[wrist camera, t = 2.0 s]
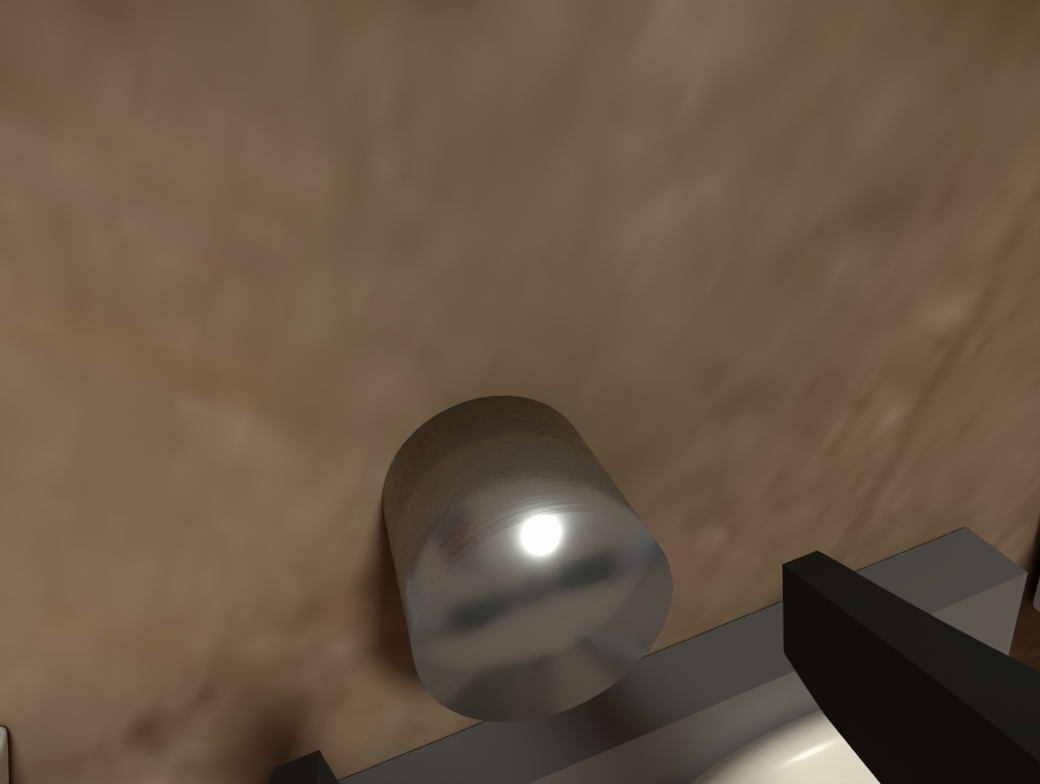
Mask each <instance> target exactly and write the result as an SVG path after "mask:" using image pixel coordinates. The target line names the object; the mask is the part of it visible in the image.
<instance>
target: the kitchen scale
mask: <svg viewBox="0 0 1040 784" xmlns="http://www.w3.org/2000/svg"><path fill="white" fill-rule="evenodd" d="M856 573H858V574H860V575H862V576H863V577H865V578H867V579H869V580H870V581H872V582H874V583H876V584H877V585H879V586H881V587H883V588H884V589H886V590H888V591H890V592H891V593H893V594H895V595H897V596H898V597H900V598H902V599H904V600H906V601H907V602H909V603H911V604H913V605H914V606H916V607H918V608H920V609H922V610H923V611H925V612H927V613H929V614H931V615H932V616H934V617H936V618H938V619H940V620H942V621H943V622H945V623H947V624H949V625H951V626H953V627H955V628H957V629H959V630H960V631H962V632H964V633H966V634H968V635H970V636H972V637H974V638H975V639H977V640H979V641H981V642H983V643H985V644H987V645H989V646H990V647H992V648H994V649H996V650H998V651H1000V652H1002V653H1004V654H1006V655H1008V656H1009V651H1010V647H1011V643H1012V639H1013V634H1014V630H1015V626H1016V621H1017V617H1018V613H1019V609H1020V604H1021V600H1022V596H1023V591H1024V587H1025V583H1026V579H1027V574H1028V572H1026V571H1025V570H1023V569H1022V568H1021V567H1019V566H1018V565H1017V564H1015V563H1014V562H1013V561H1011V560H1010V559H1009V558H1007V557H1006V556H1005V555H1003V554H1002V553H1001V552H999V551H998V550H997V549H995V548H994V547H992V546H991V545H990V544H988V543H987V542H986V541H984V540H983V539H982V538H980V537H979V536H978V535H976V534H975V533H974V532H972V531H971V530H970V529H968V528H967V527H965V528H963V529H960V530H958V531H955V532H953V533H950V534H948V535H945V536H943V537H940V538H938V539H935V540H933V541H931V542H928V543H926V544H923V545H921V546H918V547H916V548H913V549H911V550H908V551H906V552H903V553H901V554H898V555H896V556H893V557H891V558H889V559H886V560H884V561H881V562H879V563H876V564H874V565H871V566H869V567H866V568H864V569H861V570H859V571H856ZM338 783H339V784H880V783H879V781H878V780H877V779H876V778H875V777H874V775H873V774H872V773H871V772H870V771H869V769H868V768H867V767H866V766H865V764H864V763H863V762H862V761H861V760H860V758H859V757H858V756H857V755H856V753H855V752H854V751H853V750H852V748H851V747H850V746H849V745H848V744H847V742H846V741H845V740H844V739H843V737H842V736H841V735H840V734H839V732H838V731H837V730H836V729H835V728H834V726H833V725H832V724H831V722H830V721H829V720H828V719H827V717H826V716H825V715H824V714H823V712H822V711H821V709H820V708H819V706H818V705H817V703H816V702H815V700H814V699H813V697H812V696H811V694H810V693H809V691H808V690H807V688H806V687H805V685H804V684H803V682H802V681H801V679H800V677H799V676H798V674H797V673H796V671H795V670H794V668H793V666H792V665H791V663H790V662H789V660H788V658H787V657H786V655H785V654H784V648H783V601H782V602H780V603H777V604H775V605H772V606H770V607H767V608H765V609H762V610H760V611H758V612H755V613H753V614H750V615H748V616H745V617H743V618H740V619H738V620H735V621H733V622H730V623H728V624H725V625H723V626H720V627H718V628H716V629H713V630H711V631H708V632H706V633H703V634H701V635H698V636H696V637H693V638H691V639H688V640H686V641H683V642H681V643H678V644H676V645H674V646H671V647H669V648H666V649H664V650H661V651H659V652H656V653H654V654H651V655H649V656H646V657H644V658H642V659H641V660H640V661H639V662H638V663H637V664H636V665H635V666H634V667H633V668H632V669H631V670H630V671H629V672H628V673H627V674H626V675H625V676H623V677H622V678H621V679H620V680H618V681H617V682H616V683H615V684H613V685H612V686H611V687H609V688H608V689H606V690H605V691H603V692H602V693H600V694H598V695H597V696H595V697H593V698H591V699H589V700H588V701H586V702H584V703H582V704H579V705H577V706H575V707H573V708H571V709H568V710H565V711H562V712H560V713H557V714H554V715H550V716H546V717H543V718H538V719H533V720H527V721H517V722H491V721H486V722H483V723H481V724H478V725H476V726H473V727H471V728H468V729H466V730H463V731H461V732H459V733H456V734H454V735H451V736H449V737H446V738H444V739H441V740H439V741H436V742H434V743H431V744H429V745H426V746H424V747H421V748H419V749H417V750H414V751H412V752H409V753H407V754H404V755H402V756H399V757H397V758H394V759H392V760H389V761H387V762H384V763H382V764H379V765H377V766H374V767H372V768H370V769H367V770H365V771H362V772H360V773H357V774H355V775H352V776H350V777H347V778H345V779H342V780H340V781H338Z"/></svg>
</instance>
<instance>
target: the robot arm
mask: <svg viewBox="0 0 1040 784" xmlns="http://www.w3.org/2000/svg"><path fill="white" fill-rule="evenodd" d="M782 568H783V648H784V654H785V655H786V657H787V658H788V660H789V662H790V663H791V665H792V666H793V668H794V670H795V671H796V673H797V674H798V676H799V677H800V679H801V681H802V682H803V684H804V685H805V687H806V688H807V690H808V691H809V693H810V694H811V696H812V697H813V699H814V700H815V702H816V703H817V705H818V706H819V708H820V709H821V711H822V712H823V714H824V715H825V716H826V717H827V719H828V720H829V721H830V722H831V724H832V725H833V726H834V728H835V729H836V730H837V731H838V732H839V734H840V735H841V736H842V737H843V739H844V740H845V741H846V742H847V744H848V745H849V746H850V747H851V748H852V750H853V751H854V752H855V753H856V755H857V756H858V757H859V758H860V760H861V761H862V762H863V763H864V764H865V766H866V767H867V768H868V769H869V771H870V772H871V773H872V774H873V775H874V777H875V778H876V779H877V780H878V781H879V783H880V784H1040V671H1039V670H1037V669H1034V668H1032V667H1030V666H1028V665H1026V664H1024V663H1022V662H1020V661H1018V660H1016V659H1014V658H1012V657H1010V656H1008V655H1006V654H1004V653H1002V652H1000V651H998V650H996V649H994V648H992V647H990V646H989V645H987V644H985V643H983V642H981V641H979V640H977V639H975V638H974V637H972V636H970V635H968V634H966V633H964V632H962V631H960V630H959V629H957V628H955V627H953V626H951V625H949V624H947V623H945V622H943V621H942V620H940V619H938V618H936V617H934V616H932V615H931V614H929V613H927V612H925V611H923V610H922V609H920V608H918V607H916V606H914V605H913V604H911V603H909V602H907V601H906V600H904V599H902V598H900V597H898V596H897V595H895V594H893V593H891V592H890V591H888V590H886V589H884V588H883V587H881V586H879V585H877V584H876V583H874V582H872V581H870V580H869V579H867V578H865V577H863V576H862V575H860V574H858V573H856V572H855V571H853V570H851V569H849V568H848V567H846V566H844V565H843V564H841V563H839V562H837V561H836V560H834V559H832V558H830V557H828V556H827V555H825V554H823V553H821V552H819V551H818V550H817V551H815V552H812V553H810V554H807V555H805V556H802V557H800V558H797V559H795V560H792V561H790V562H787V563H785V564H782ZM1033 607H1034V608H1035V609H1036V610H1038V611H1039V612H1040V576H1039V580H1038V584H1037V588H1036V593H1035V597H1034V601H1033ZM269 784H339V783H338V781H337V779H336V778H335V776H334V774H333V773H332V771H331V769H330V767H329V766H328V764H327V762H326V761H325V759H324V757H323V756H322V754H321V752H320V750H318V751H316V752H313V753H311V754H308V755H306V756H303V757H301V758H298V759H296V760H293V761H291V762H288V763H286V764H283V765H281V766H278V767H276V768H275V769H274V771H273V772H272V774H271V776H270V779H269Z"/></svg>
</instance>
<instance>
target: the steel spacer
mask: <svg viewBox="0 0 1040 784" xmlns="http://www.w3.org/2000/svg"><path fill="white" fill-rule="evenodd" d="M382 504H383V512H384V518H385V523H386V528H387V533H388V538H389V543H390V547H391V552H392V557H393V562H394V567H395V572H396V577H397V581H398V586H399V591H400V596H401V601H402V606H403V611H404V615H405V620H406V625H407V630H408V635H409V640H410V644H411V649H412V654H413V659H414V664H415V667H416V670H417V673H418V676H419V678H420V680H421V682H422V684H423V685H424V687H425V688H426V690H427V691H428V692H429V693H430V694H431V696H432V697H433V698H435V699H436V700H437V701H438V702H439V703H440V704H442V705H443V706H445V707H447V708H448V709H450V710H452V711H453V712H456V713H458V714H461V715H463V716H466V717H469V718H473V719H477V720H483V721H491V722H517V721H527V720H533V719H538V718H543V717H546V716H550V715H554V714H557V713H560V712H562V711H565V710H568V709H571V708H573V707H575V706H577V705H579V704H582V703H584V702H586V701H588V700H589V699H591V698H593V697H595V696H597V695H598V694H600V693H602V692H603V691H605V690H606V689H608V688H609V687H611V686H612V685H613V684H615V683H616V682H617V681H618V680H620V679H621V678H622V677H623V676H625V675H626V674H627V673H628V672H629V671H630V670H631V669H632V668H633V667H634V666H635V665H636V664H637V663H638V662H639V661H640V660H641V659H642V657H643V656H644V655H645V654H646V653H647V652H648V650H649V649H650V647H651V646H652V644H653V643H654V642H655V640H656V638H657V637H658V635H659V633H660V631H661V629H662V628H663V625H664V623H665V620H666V618H667V616H668V612H669V608H670V605H671V599H672V591H673V587H672V575H671V570H670V565H669V563H668V561H667V558H666V556H665V554H664V552H663V551H662V549H661V548H660V546H659V545H658V543H657V542H656V540H655V539H654V538H653V536H652V535H651V533H650V532H649V531H648V529H647V528H646V526H645V525H644V524H643V522H642V521H641V520H640V518H639V517H638V515H637V514H636V513H635V511H634V510H633V508H632V507H631V506H630V504H629V503H628V501H627V500H626V499H625V497H624V496H623V494H622V493H621V492H620V490H619V489H618V487H617V486H616V485H615V483H614V482H613V480H612V479H611V478H610V476H609V475H608V474H607V472H606V471H605V469H604V468H603V467H602V465H601V464H600V462H599V461H598V460H597V458H596V457H595V455H594V454H593V453H592V451H591V450H590V448H589V447H588V446H587V444H586V443H585V441H584V440H583V439H582V437H581V436H580V434H579V433H578V432H577V430H576V429H575V428H574V426H573V425H572V424H571V423H570V422H569V421H568V420H567V419H566V418H565V417H564V416H563V415H562V414H560V413H559V412H558V411H556V410H555V409H553V408H551V407H549V406H548V405H546V404H543V403H541V402H538V401H535V400H532V399H528V398H523V397H516V396H490V397H483V398H477V399H474V400H470V401H466V402H463V403H460V404H458V405H455V406H453V407H450V408H448V409H447V410H445V411H443V412H441V413H439V414H437V415H436V416H434V417H433V418H431V419H430V420H428V421H427V422H425V423H424V424H423V425H422V426H421V427H419V428H418V429H417V430H416V431H415V432H414V433H413V434H412V435H411V436H410V437H409V438H408V439H407V440H406V442H405V443H404V444H403V445H402V447H401V448H400V450H399V451H398V452H397V454H396V455H395V457H394V459H393V461H392V463H391V465H390V467H389V470H388V473H387V476H386V478H385V483H384V488H383V500H382Z"/></svg>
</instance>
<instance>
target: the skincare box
mask: <svg viewBox="0 0 1040 784" xmlns="http://www.w3.org/2000/svg"><path fill="white" fill-rule="evenodd" d="M0 784H9V770H8V741H7V731H6V728H4V727H1V726H0Z"/></svg>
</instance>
